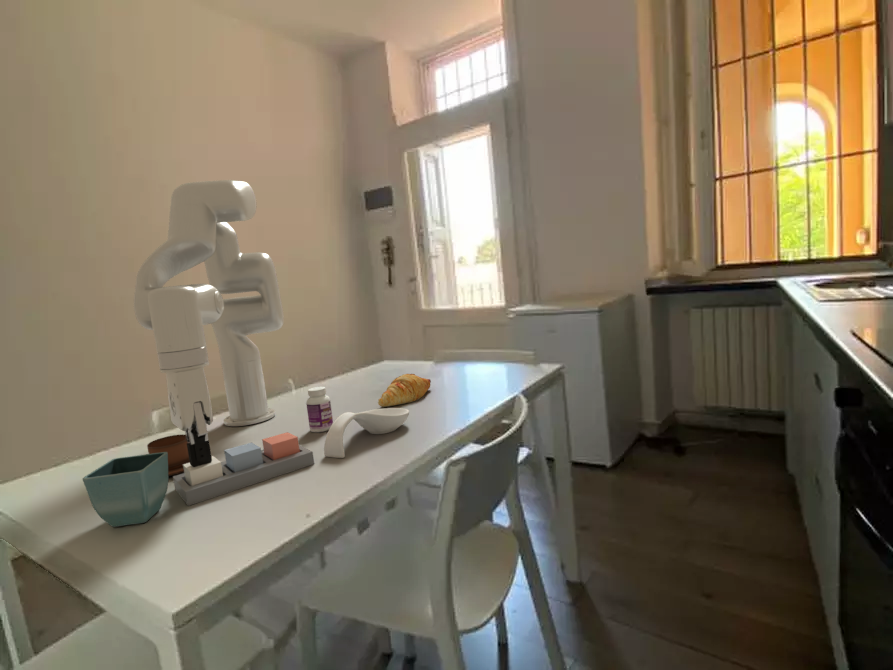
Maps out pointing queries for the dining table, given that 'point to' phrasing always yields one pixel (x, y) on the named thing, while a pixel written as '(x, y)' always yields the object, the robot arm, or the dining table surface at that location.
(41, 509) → the dining table surface
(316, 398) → the pill bottle
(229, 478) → the grey flat tray
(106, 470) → the flower pot
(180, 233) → the robot arm
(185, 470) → the key white
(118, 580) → the dining table surface
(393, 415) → the spoon rest
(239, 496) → the dining table surface
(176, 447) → the cup and saucer
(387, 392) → the croissant
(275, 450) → the key red
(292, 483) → the dining table surface
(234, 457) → the key blue
